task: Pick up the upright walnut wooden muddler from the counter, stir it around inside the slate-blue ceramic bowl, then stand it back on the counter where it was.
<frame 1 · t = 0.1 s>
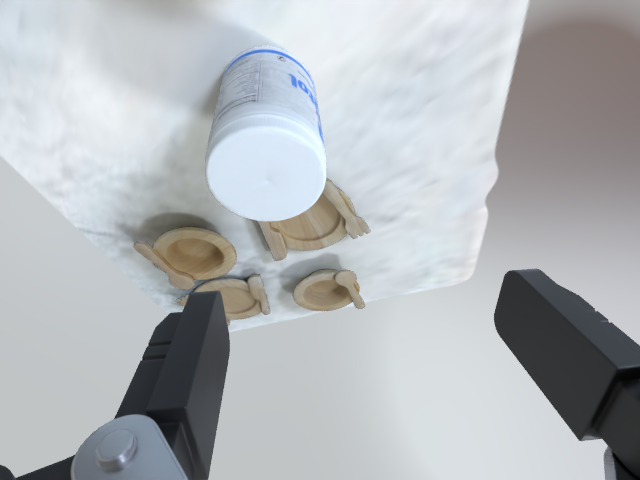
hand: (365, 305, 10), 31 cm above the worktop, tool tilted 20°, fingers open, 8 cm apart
supplement tub: (268, 89, 37), on the worktop
tableware set: (265, 259, 59), on the worktop
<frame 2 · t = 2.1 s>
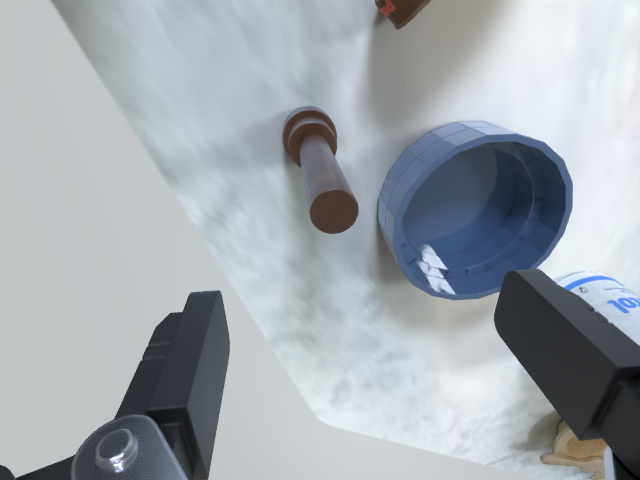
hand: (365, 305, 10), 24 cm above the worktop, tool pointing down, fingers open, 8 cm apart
muddler: (308, 133, 31), on the worktop
bowl: (452, 200, 35), on the worktop
supplement tub: (569, 300, 43), on the worktop
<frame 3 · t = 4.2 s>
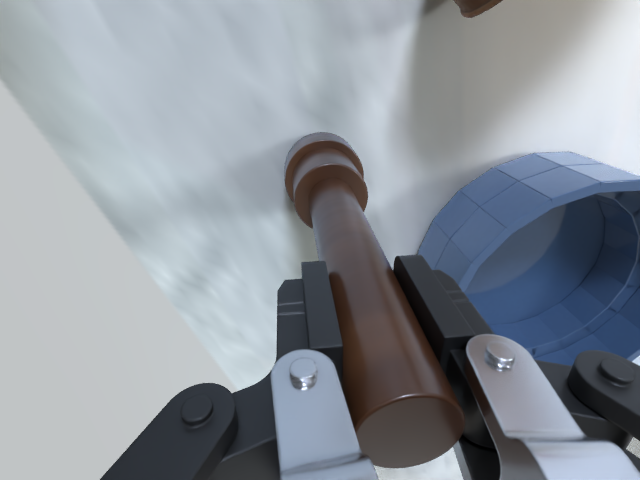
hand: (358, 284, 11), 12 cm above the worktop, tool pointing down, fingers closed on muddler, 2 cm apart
muddler: (321, 169, 22), on the worktop, touching gripper
bowl: (515, 254, 26), on the worktop
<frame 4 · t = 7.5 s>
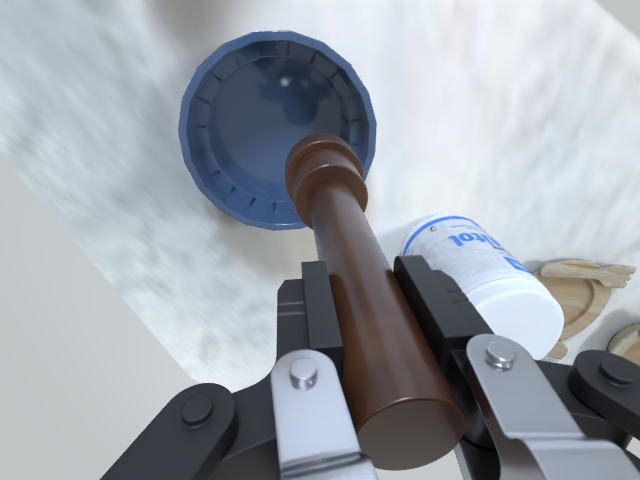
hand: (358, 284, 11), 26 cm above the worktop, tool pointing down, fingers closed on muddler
muddler: (321, 170, 22), point 14 cm above the worktop, touching gripper
bowl: (280, 128, 33), on the worktop
supplement tub: (437, 246, 41), on the worktop
tableware set: (548, 361, 53), on the worktop
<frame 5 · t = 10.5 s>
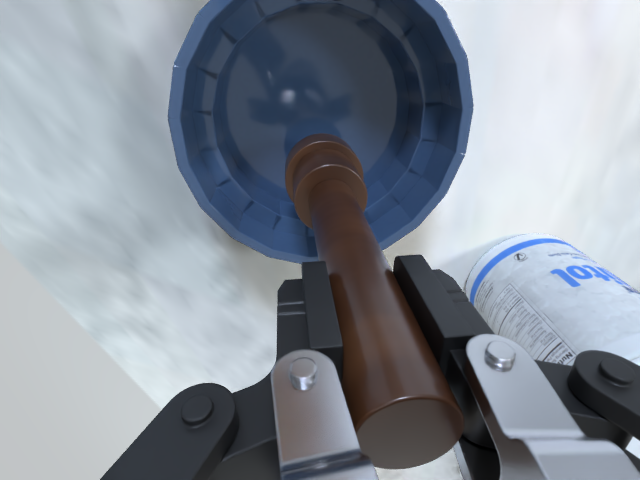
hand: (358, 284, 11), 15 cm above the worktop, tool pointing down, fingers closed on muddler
muddler: (321, 170, 22), point 3 cm above the worktop, touching gripper
bowl: (315, 117, 24), on the worktop
supplement tub: (512, 276, 32), on the worktop
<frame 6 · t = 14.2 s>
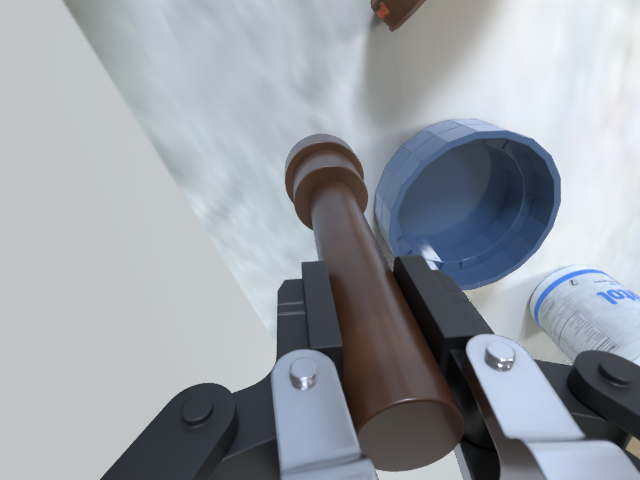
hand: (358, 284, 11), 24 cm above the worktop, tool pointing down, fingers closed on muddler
muddler: (321, 170, 22), point 12 cm above the worktop, touching gripper
bowl: (447, 195, 37), on the worktop
supplement tub: (562, 293, 45), on the worktop
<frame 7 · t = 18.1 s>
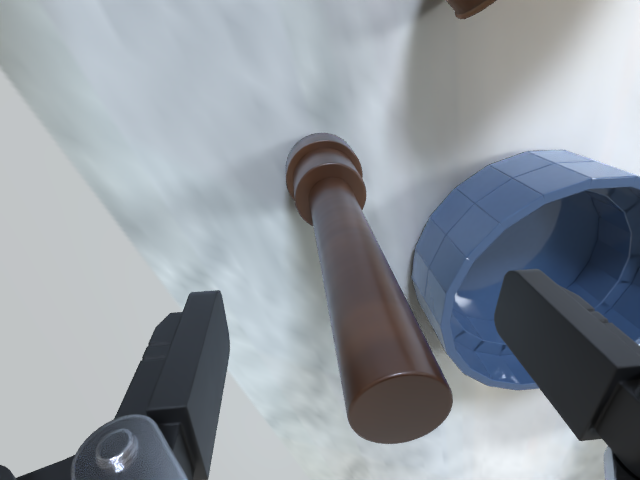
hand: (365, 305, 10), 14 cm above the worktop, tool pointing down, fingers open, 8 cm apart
muddler: (321, 168, 22), on the worktop
bowl: (510, 251, 27), on the worktop
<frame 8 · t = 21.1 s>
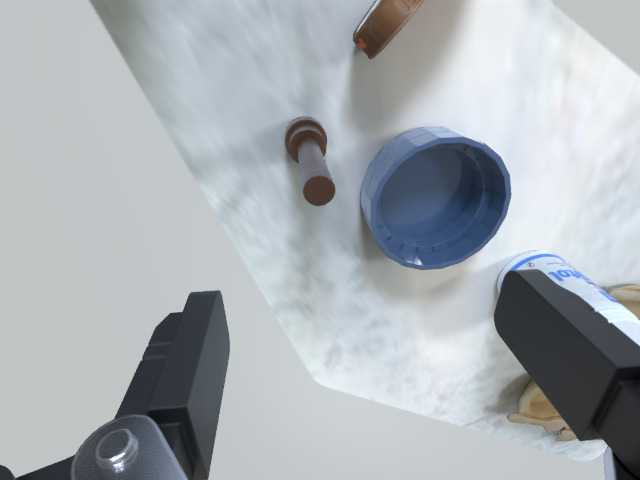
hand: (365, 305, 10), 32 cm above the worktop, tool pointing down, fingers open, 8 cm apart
muddler: (305, 137, 39), on the worktop
bowl: (421, 190, 44), on the worktop
supplement tub: (525, 275, 52), on the worktop
tableware set: (602, 366, 63), on the worktop
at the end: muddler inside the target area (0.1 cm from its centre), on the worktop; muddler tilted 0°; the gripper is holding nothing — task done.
